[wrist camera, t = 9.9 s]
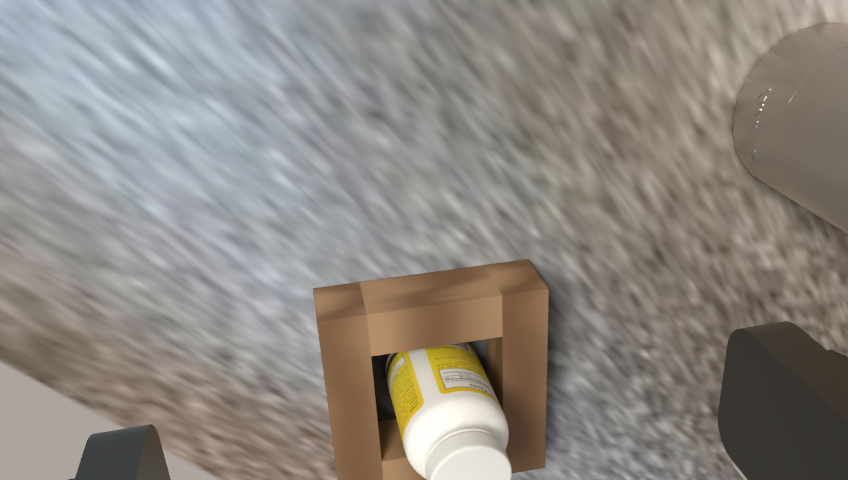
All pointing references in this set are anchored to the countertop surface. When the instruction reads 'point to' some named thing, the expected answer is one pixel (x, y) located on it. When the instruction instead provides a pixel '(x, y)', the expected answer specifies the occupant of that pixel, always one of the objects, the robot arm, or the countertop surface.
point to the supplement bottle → (448, 414)
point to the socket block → (424, 328)
